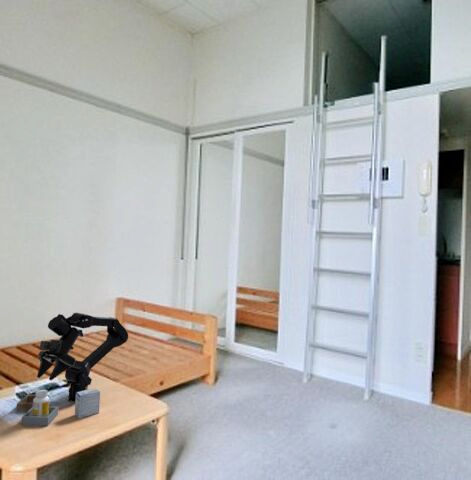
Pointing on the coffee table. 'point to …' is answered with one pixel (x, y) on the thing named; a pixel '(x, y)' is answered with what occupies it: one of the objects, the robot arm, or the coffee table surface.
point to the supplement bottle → (41, 404)
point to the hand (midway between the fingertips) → (43, 378)
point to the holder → (26, 403)
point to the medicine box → (87, 402)
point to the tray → (39, 418)
